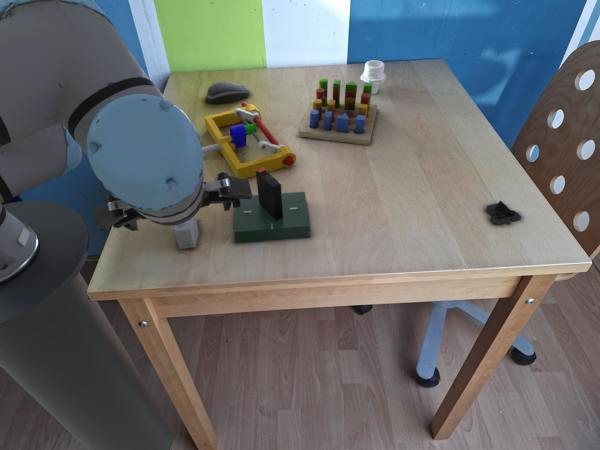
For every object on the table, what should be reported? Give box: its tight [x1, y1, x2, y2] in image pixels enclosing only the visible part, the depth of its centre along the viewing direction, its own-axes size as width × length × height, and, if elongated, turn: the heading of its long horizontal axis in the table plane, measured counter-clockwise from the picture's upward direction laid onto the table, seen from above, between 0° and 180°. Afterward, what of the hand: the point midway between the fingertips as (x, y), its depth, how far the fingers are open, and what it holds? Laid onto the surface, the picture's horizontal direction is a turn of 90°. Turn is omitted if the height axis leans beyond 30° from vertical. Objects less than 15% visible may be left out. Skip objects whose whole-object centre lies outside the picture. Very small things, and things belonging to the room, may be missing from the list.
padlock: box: [172, 214, 200, 250], centre depth 77 cm, size 7×4×10 cm, turn 8°
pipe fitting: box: [360, 59, 387, 95], centre depth 118 cm, size 6×7×8 cm
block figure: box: [485, 200, 522, 226], centre depth 82 cm, size 6×2×6 cm
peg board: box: [298, 77, 378, 146], centre depth 106 cm, size 18×17×9 cm
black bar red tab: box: [255, 167, 283, 220], centre depth 78 cm, size 6×2×8 cm, turn 35°
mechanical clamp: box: [202, 101, 297, 180], centre depth 100 cm, size 18×6×30 cm
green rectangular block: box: [233, 191, 311, 244], centre depth 82 cm, size 14×10×3 cm
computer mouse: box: [205, 80, 250, 104], centre depth 119 cm, size 7×12×4 cm, turn 112°
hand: (180, 211), depth 64 cm, fingers open, 13 cm apart
